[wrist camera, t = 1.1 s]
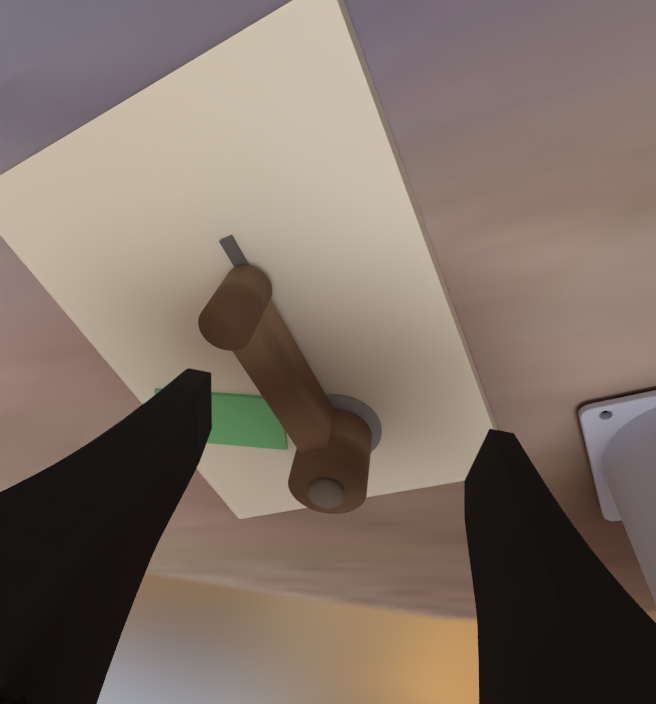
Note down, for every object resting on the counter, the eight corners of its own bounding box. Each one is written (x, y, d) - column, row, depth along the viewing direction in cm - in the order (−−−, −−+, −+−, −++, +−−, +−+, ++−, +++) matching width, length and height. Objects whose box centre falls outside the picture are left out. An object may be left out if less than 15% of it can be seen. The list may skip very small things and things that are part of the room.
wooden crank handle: (382, 452, 22) (378, 515, 19) (320, 464, 23) (307, 526, 20) (274, 251, 17) (247, 299, 14) (200, 280, 18) (162, 330, 15)
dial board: (336, -20, 14) (328, -22, 13) (504, 448, 24) (510, 476, 22) (-6, 183, 19) (-38, 197, 18) (246, 497, 29) (238, 522, 28)
